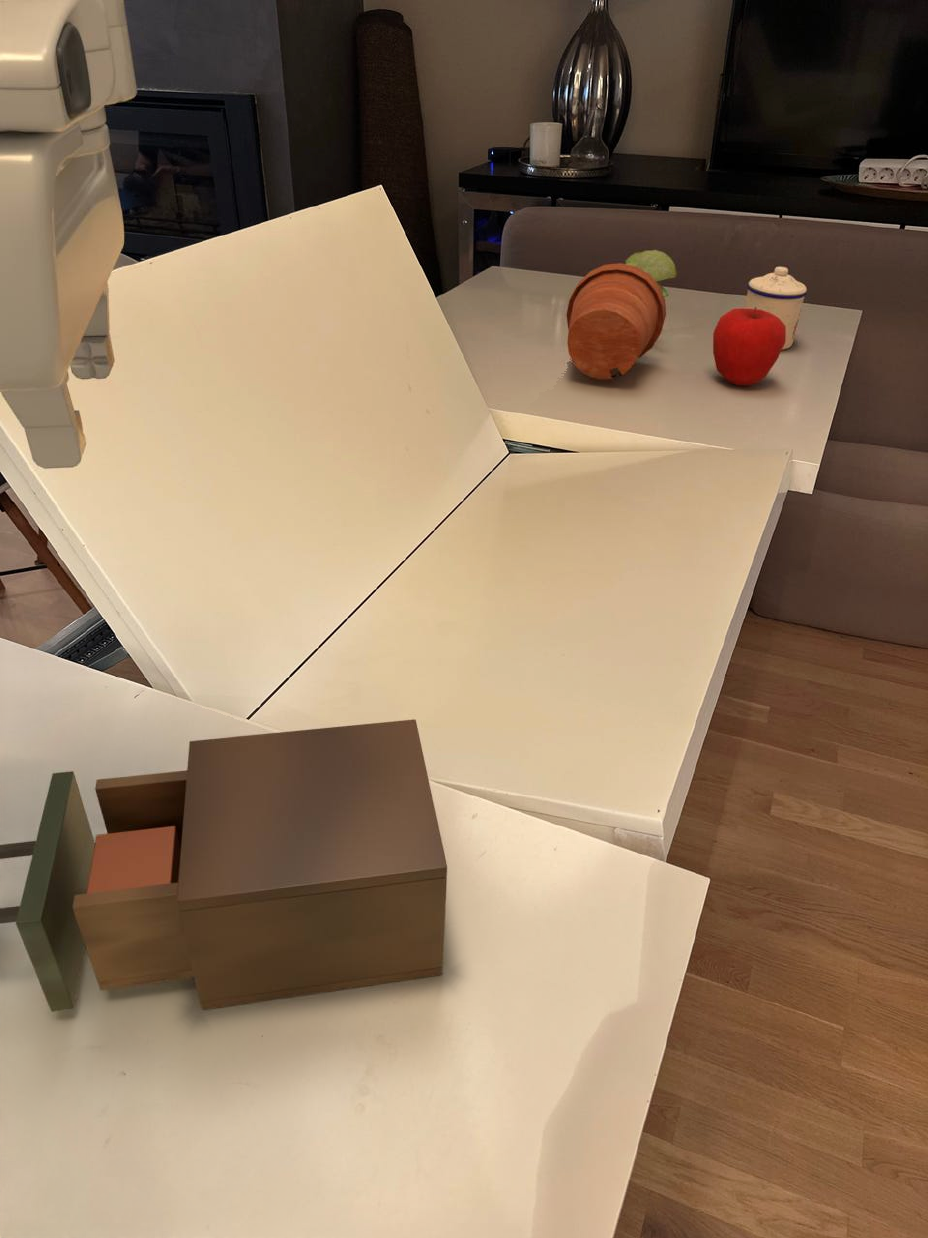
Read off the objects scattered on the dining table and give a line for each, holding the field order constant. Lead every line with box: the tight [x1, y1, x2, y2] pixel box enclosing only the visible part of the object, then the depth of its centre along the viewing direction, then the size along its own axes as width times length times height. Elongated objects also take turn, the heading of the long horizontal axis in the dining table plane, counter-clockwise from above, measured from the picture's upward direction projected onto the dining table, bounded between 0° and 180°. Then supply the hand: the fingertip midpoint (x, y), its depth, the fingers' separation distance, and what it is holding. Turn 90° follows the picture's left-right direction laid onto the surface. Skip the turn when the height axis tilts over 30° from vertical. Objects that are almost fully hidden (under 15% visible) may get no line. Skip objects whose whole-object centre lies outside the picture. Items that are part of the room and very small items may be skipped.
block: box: [87, 826, 181, 894], centre depth 52 cm, size 4×4×4 cm
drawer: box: [0, 769, 194, 1013], centre depth 52 cm, size 17×10×8 cm, turn 101°
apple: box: [712, 307, 786, 387], centre depth 130 cm, size 10×10×11 cm
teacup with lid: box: [743, 266, 808, 351], centre depth 146 cm, size 12×9×12 cm
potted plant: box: [565, 249, 677, 380], centre depth 138 cm, size 16×15×35 cm
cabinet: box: [177, 718, 448, 1010], centre depth 53 cm, size 14×12×10 cm
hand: (80, 413), depth 40 cm, fingers open, 8 cm apart
